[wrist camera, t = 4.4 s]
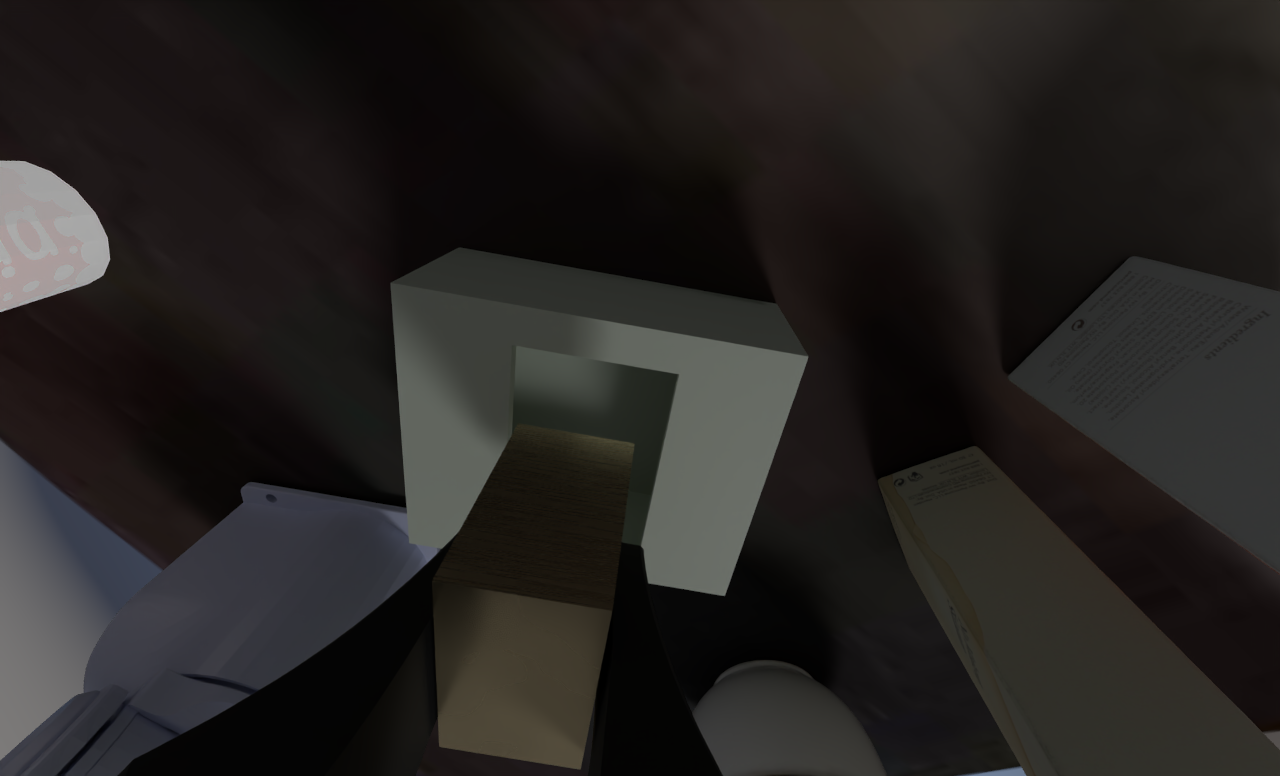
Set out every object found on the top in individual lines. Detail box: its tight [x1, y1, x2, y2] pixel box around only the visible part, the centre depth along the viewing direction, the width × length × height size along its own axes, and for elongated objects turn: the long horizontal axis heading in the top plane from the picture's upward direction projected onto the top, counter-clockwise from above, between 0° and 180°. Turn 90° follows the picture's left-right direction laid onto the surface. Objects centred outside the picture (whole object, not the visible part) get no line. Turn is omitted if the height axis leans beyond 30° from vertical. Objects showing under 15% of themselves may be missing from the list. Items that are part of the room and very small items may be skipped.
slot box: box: [391, 247, 808, 596], centre depth 19 cm, size 12×10×5 cm
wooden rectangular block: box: [432, 423, 635, 769], centre depth 11 cm, size 3×5×5 cm, turn 171°
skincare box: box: [878, 446, 1280, 776], centre depth 17 cm, size 6×4×12 cm
